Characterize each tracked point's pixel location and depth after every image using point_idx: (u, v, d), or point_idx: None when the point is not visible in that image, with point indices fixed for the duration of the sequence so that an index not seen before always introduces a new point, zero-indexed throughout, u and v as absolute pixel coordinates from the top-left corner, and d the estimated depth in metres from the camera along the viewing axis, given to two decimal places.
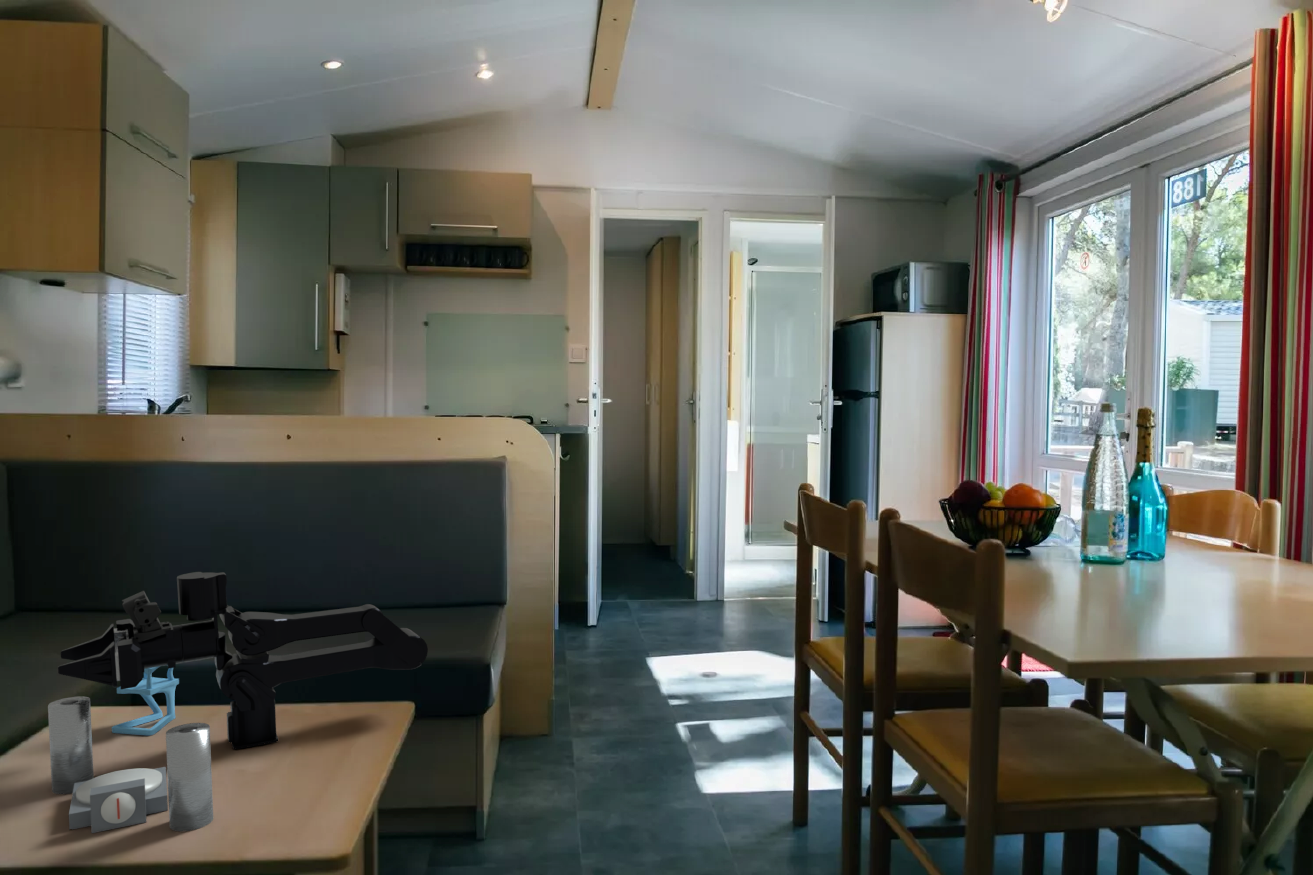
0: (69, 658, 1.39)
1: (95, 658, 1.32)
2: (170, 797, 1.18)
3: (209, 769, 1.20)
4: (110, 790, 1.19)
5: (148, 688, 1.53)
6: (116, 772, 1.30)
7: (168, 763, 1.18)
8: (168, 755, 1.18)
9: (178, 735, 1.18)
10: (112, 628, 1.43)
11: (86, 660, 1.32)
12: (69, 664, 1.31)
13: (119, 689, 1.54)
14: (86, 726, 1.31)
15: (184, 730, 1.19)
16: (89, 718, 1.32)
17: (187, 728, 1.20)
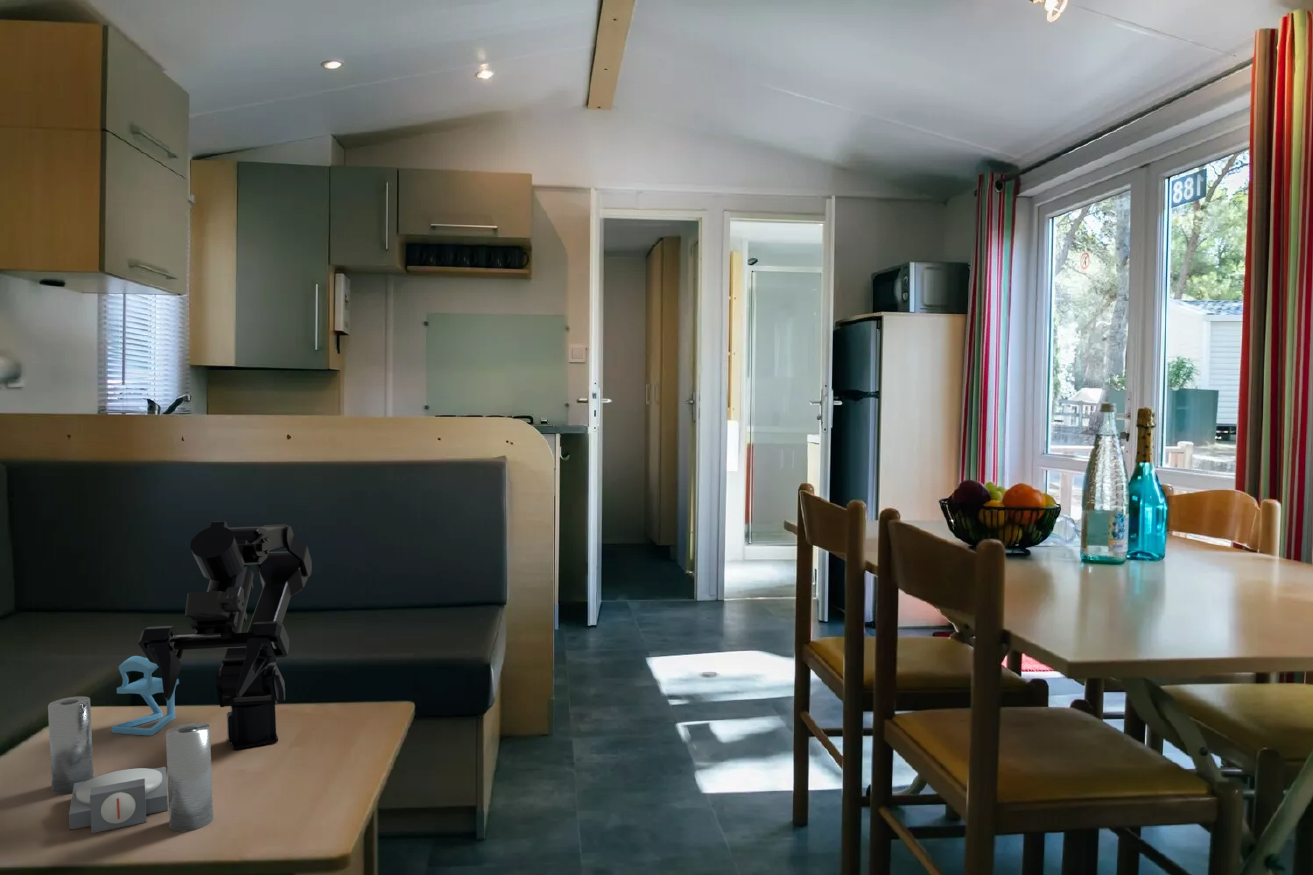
0: (171, 694, 1.28)
1: (254, 660, 1.30)
2: (170, 797, 1.18)
3: (209, 769, 1.20)
4: (110, 790, 1.19)
5: (148, 688, 1.53)
6: (116, 772, 1.30)
7: (168, 763, 1.18)
8: (168, 755, 1.18)
9: (178, 735, 1.18)
10: (168, 644, 1.29)
11: (250, 668, 1.29)
12: (243, 683, 1.28)
13: (119, 689, 1.54)
14: (86, 726, 1.31)
15: (184, 730, 1.19)
16: (89, 718, 1.32)
17: (187, 728, 1.20)
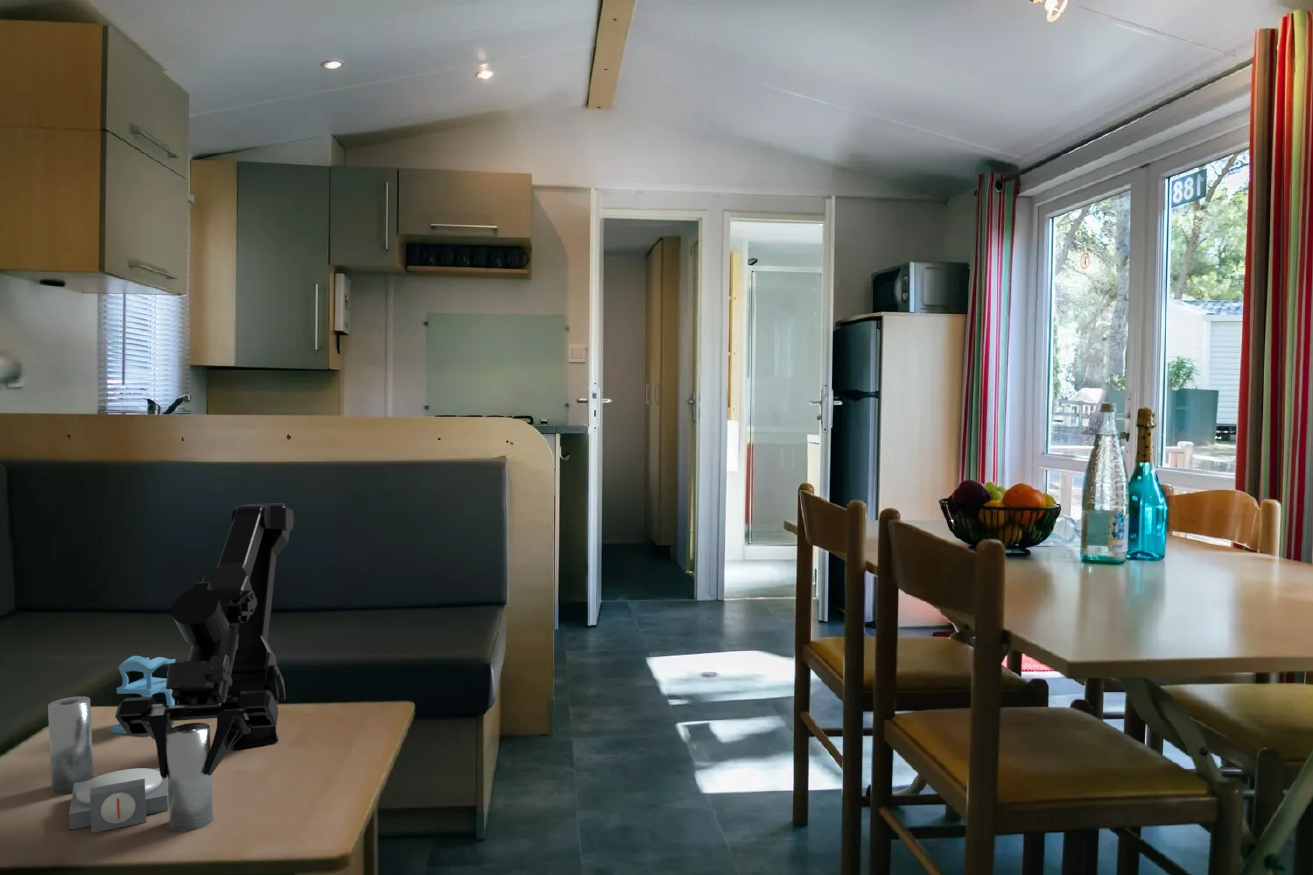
0: None
1: (226, 734, 1.21)
2: (170, 797, 1.18)
3: None
4: (110, 790, 1.19)
5: (148, 688, 1.53)
6: (116, 772, 1.30)
7: (168, 763, 1.18)
8: (168, 755, 1.18)
9: (178, 735, 1.18)
10: (164, 716, 1.21)
11: (221, 743, 1.21)
12: (213, 760, 1.19)
13: (119, 689, 1.54)
14: (86, 726, 1.31)
15: (184, 730, 1.19)
16: (89, 718, 1.32)
17: (187, 728, 1.20)
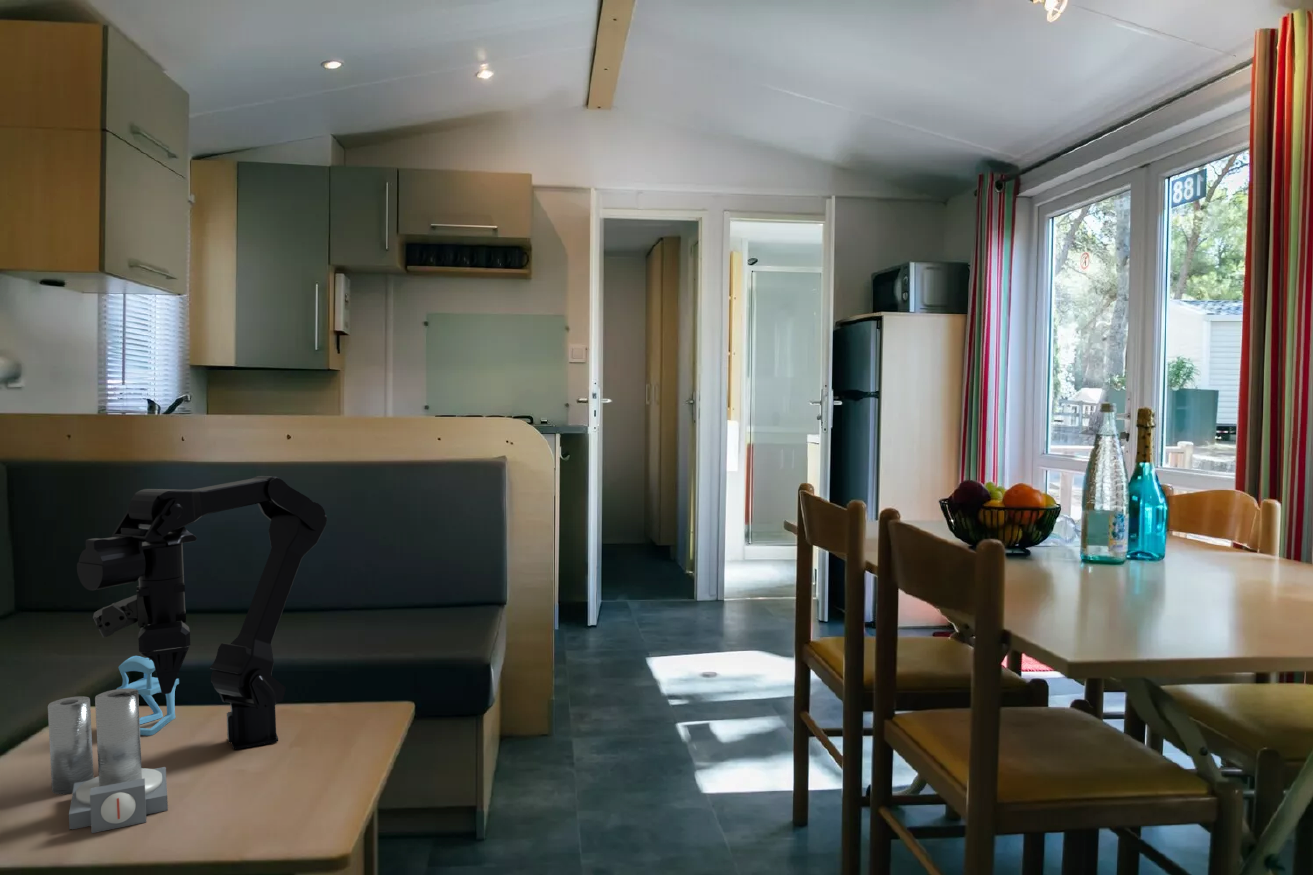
0: None
1: (155, 665, 1.29)
2: None
3: (130, 735, 1.25)
4: (110, 790, 1.19)
5: (148, 688, 1.53)
6: None
7: None
8: None
9: (100, 698, 1.24)
10: None
11: (157, 672, 1.30)
12: (160, 685, 1.30)
13: None
14: (86, 726, 1.31)
15: (112, 695, 1.25)
16: (89, 718, 1.32)
17: (118, 693, 1.26)
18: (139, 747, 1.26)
